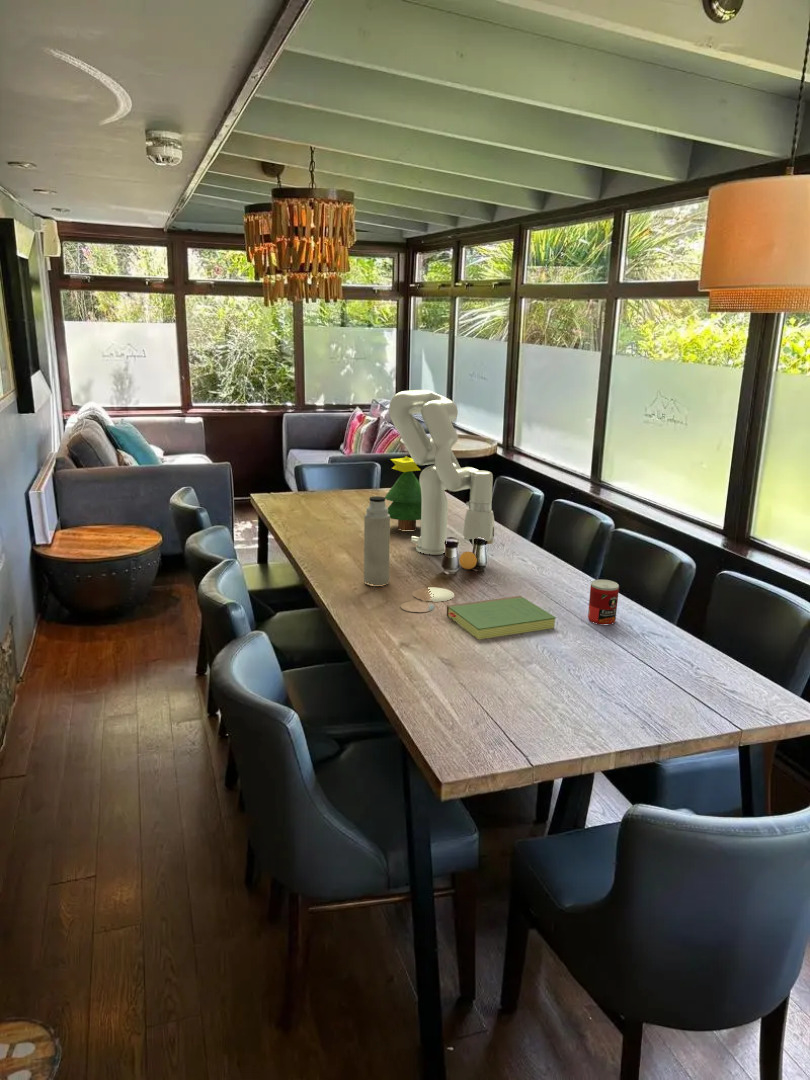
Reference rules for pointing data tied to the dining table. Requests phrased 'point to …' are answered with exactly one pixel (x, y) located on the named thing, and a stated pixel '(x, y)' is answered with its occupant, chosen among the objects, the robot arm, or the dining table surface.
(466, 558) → the ball
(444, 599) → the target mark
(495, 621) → the hardcover book
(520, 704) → the dining table surface
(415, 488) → the decorative tree
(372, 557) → the thermos bottle
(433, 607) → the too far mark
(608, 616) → the canned food
